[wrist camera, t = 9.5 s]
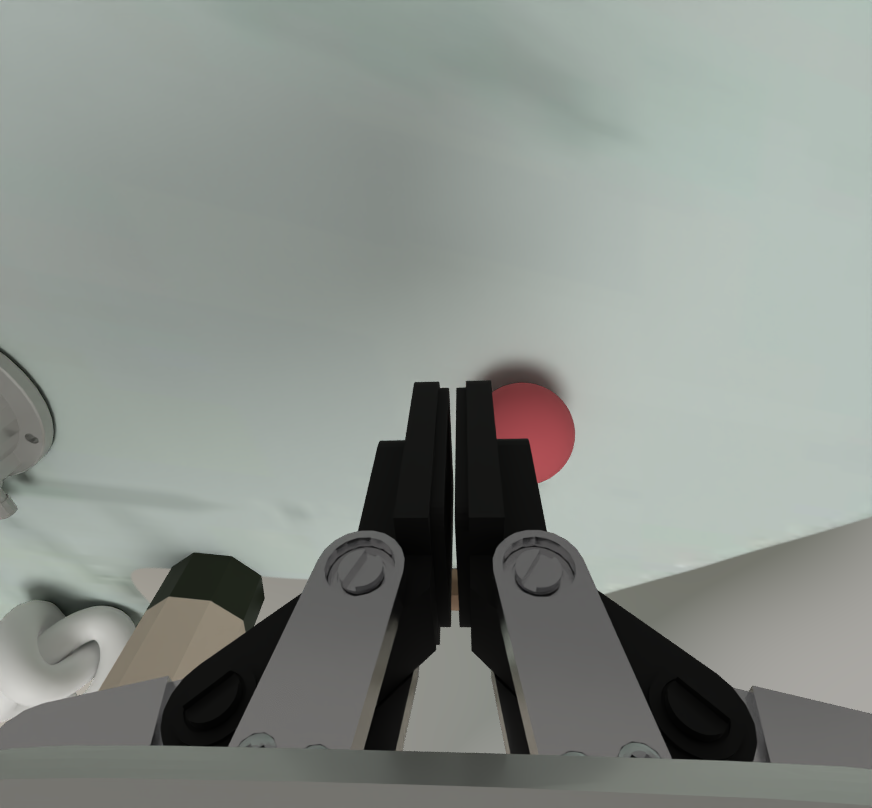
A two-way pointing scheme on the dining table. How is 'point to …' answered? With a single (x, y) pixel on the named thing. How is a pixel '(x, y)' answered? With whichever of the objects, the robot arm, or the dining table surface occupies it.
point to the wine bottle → (190, 619)
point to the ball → (535, 424)
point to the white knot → (56, 652)
